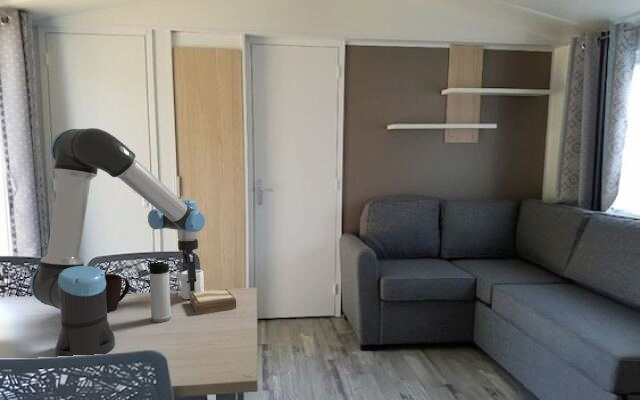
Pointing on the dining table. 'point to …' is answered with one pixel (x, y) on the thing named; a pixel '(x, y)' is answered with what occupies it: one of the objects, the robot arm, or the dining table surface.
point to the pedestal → (212, 301)
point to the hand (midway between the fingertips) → (189, 294)
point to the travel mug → (160, 292)
